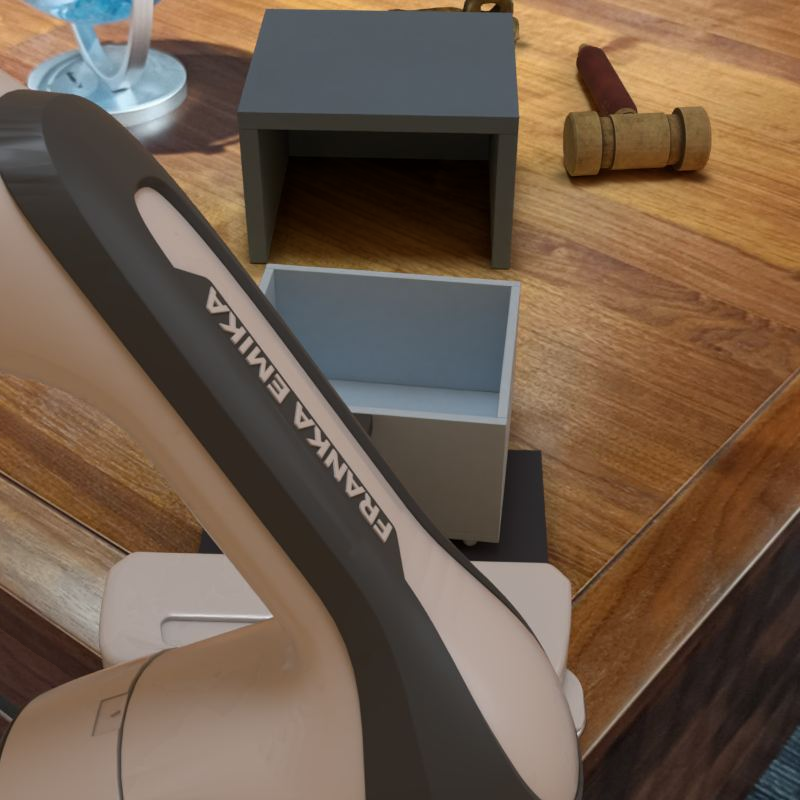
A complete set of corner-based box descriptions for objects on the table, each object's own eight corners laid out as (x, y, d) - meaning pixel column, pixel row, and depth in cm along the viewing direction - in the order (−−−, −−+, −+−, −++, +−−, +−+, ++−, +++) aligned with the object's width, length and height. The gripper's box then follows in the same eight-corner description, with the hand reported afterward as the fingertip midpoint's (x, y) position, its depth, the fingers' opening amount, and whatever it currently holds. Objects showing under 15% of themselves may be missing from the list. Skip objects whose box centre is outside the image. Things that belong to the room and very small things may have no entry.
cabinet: (249, 263, 91) (236, 111, 83) (274, 149, 103) (265, 8, 95) (509, 269, 90) (519, 116, 83) (504, 154, 102) (512, 12, 95)
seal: (359, 85, 113) (531, 66, 115) (359, 35, 110) (536, 16, 112) (338, 27, 119) (502, 10, 122) (337, -22, 116) (505, -38, 118)
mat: (187, 602, 67) (187, 601, 67) (221, 443, 76) (221, 441, 76) (551, 613, 67) (551, 611, 67) (541, 451, 76) (541, 450, 76)
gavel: (525, 23, 112) (644, 18, 113) (523, 75, 115) (638, 70, 116) (577, 128, 95) (715, 121, 96) (572, 186, 98) (707, 180, 99)
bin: (209, 599, 67) (192, 469, 62) (276, 386, 80) (266, 262, 75) (490, 626, 66) (499, 496, 60) (512, 406, 79) (521, 281, 73)
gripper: (597, 709, 51) (574, 464, 62) (59, 693, 52) (129, 453, 62) (583, 807, 55) (564, 561, 66) (84, 791, 56) (145, 550, 66)
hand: (349, 508), depth 64 cm, fingers closed on bin
